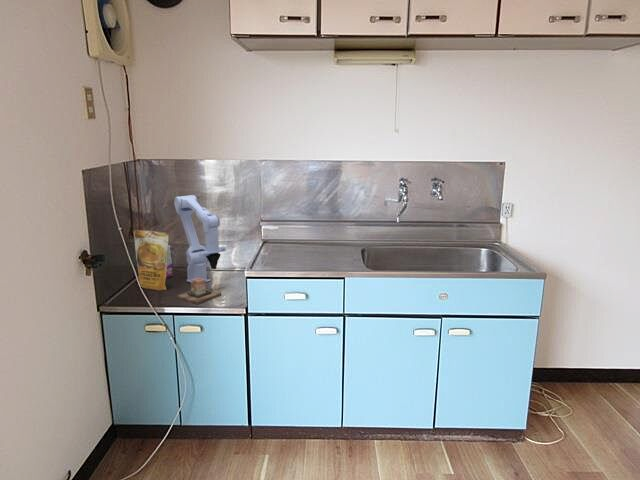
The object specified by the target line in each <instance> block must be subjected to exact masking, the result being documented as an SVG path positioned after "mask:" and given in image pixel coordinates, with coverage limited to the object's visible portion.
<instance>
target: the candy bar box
mask: <svg viewBox="0 0 640 480" xmlns="http://www.w3.org/2000/svg"><path fill="white" fill-rule="evenodd" d="M171 247H172V246H171V245H168V257H167V268H166V279H168V278H171V277H174V269H173V268H174V267H173V260H172V248H171Z"/></svg>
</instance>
